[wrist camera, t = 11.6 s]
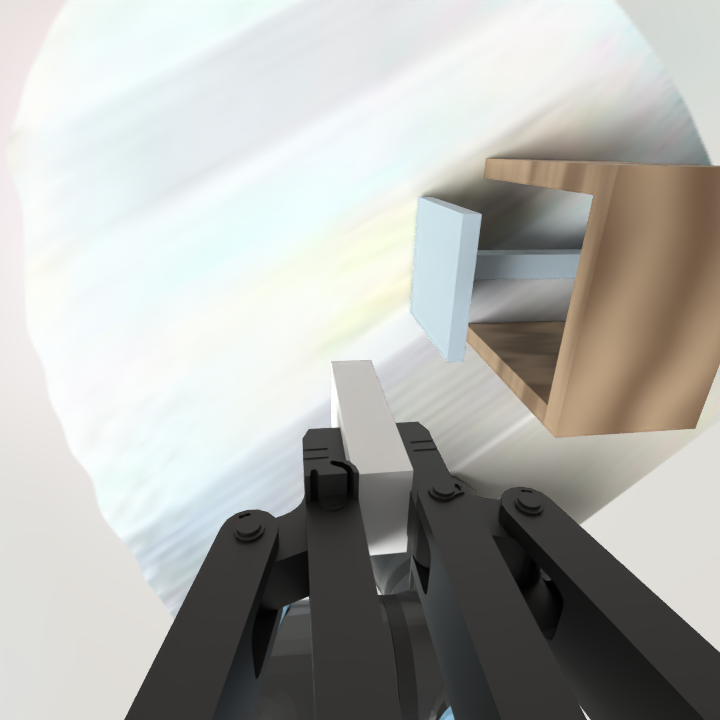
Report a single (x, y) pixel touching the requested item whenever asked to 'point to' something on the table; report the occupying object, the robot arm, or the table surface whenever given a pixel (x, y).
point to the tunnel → (621, 302)
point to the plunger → (465, 271)
